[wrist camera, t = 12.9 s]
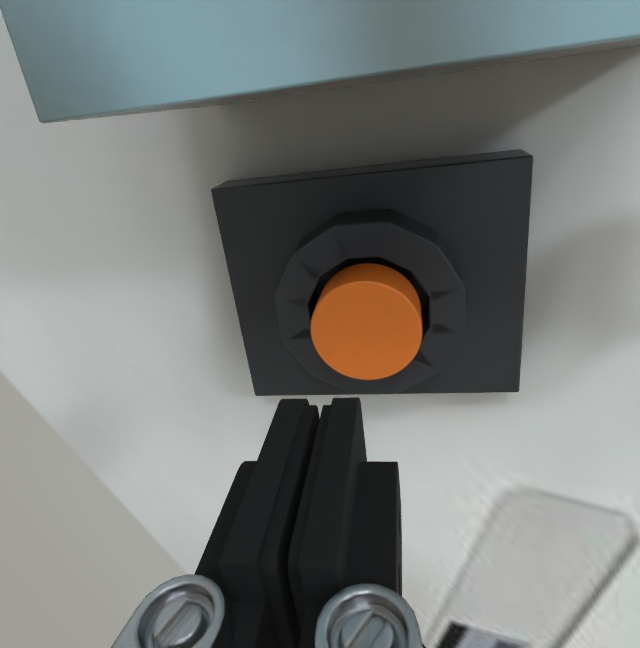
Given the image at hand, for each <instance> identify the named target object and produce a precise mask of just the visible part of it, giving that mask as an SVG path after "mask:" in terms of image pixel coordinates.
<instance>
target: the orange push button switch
mask: <svg viewBox="0 0 640 648" xmlns="http://www.w3.org/2000/svg"><path fill="white" fill-rule="evenodd" d="M532 166H533V156H532V155H530V154H528V153H526V152H525V151H523V150H512V151H502V152H493V153H484V154H474V155H465V156H456V157H446V158H437V159H428V160H419V161H409V162H400V163H391V164H381V165H372V166H363V167H353V168H344V169H335V170H325V171H316V172H307V173H298V174H288V175H279V176H270V177H260V178H251V179H242V180H232V181H226V182H224V183H222V184H220V185H218V186H217V187H215V188H213V189H211V193H212V197H213V202H214V207H215V211H216V216H217V220H218V225H219V230H220V234H221V239H222V243H223V248H224V253H225V257H226V262H227V267H228V271H229V276H230V280H231V285H232V290H233V294H234V299H235V304H236V308H237V313H238V317H239V322H240V327H241V331H242V336H243V341H244V345H245V350H246V354H247V359H248V364H249V368H250V373H251V378H252V382H253V387H254V391H255V395H256V396H270V395H341V394H412V393H483V392H518V391H519V383H520V366H521V349H522V333H523V316H524V299H525V283H526V266H527V249H528V233H529V216H530V199H531V183H532ZM364 263H373V264H380V265H384V266H387V267H389V268H392V269H394V270H396V271H398V272H399V273H400V274H402V275H403V276H404V277H405V278H407V279H408V280H409V282H410V283H411V284H412V285H413V287H414V288H415V290H416V292H417V294H418V297H419V300H420V305H421V316H422V340H421V344H420V347H419V350H418V352H417V354H416V355H415V357H414V358H413V360H412V361H411V362H410V363H409V364H408V365H407V366H406V367H405V368H403V369H402V370H401V371H399V372H397V373H396V374H393V375H391V376H389V377H386V378H382V379H377V380H361V379H355V378H351V377H348V376H345V375H343V374H341V373H339V372H337V371H336V370H334V369H333V368H331V367H330V366H329V365H328V364H326V362H325V361H324V360H323V359H322V358H321V357H320V355H319V354H318V352H317V350H316V348H315V346H314V344H313V341H312V337H311V319H312V315H313V312H314V310H315V307H316V305H317V302H318V300H319V297H320V295H321V293H322V290H323V288H324V287H325V285H326V284H327V282H328V281H329V280H330V279H331V278H332V277H333V276H334V275H335V274H337V273H338V272H339V271H341V270H343V269H345V268H347V267H350V266H353V265H357V264H364Z"/></svg>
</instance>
